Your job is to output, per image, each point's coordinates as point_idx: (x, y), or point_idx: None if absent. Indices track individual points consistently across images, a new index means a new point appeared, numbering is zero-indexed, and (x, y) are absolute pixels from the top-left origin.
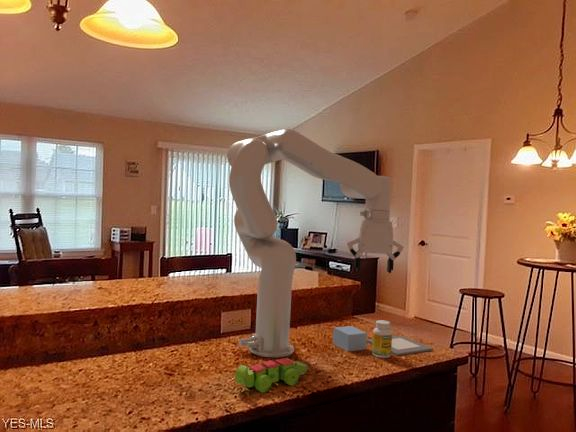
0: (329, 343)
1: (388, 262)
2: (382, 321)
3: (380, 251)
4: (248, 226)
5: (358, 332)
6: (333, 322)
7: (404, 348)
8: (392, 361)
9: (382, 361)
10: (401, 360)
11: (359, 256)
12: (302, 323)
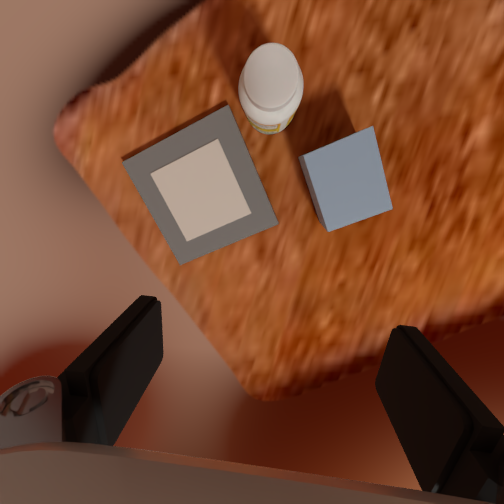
0: None
1: (120, 388)
2: (271, 86)
3: (187, 499)
4: None
5: (329, 159)
6: (317, 364)
7: (197, 150)
8: None
9: None
10: (227, 63)
11: (489, 473)
12: None
